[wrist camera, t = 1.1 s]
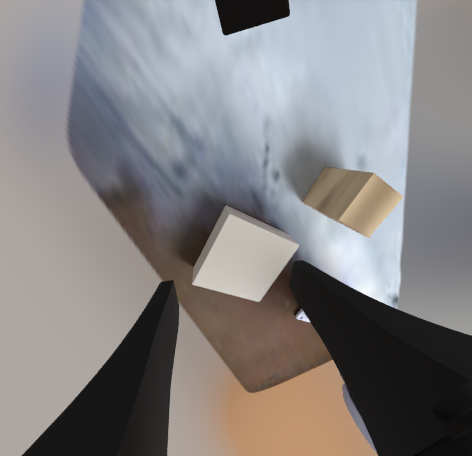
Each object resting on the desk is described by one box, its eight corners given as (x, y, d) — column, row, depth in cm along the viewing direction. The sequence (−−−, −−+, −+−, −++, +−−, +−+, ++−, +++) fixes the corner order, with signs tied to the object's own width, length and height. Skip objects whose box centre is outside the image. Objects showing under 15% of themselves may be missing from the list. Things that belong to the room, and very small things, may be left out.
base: (287, 233, 22) (299, 245, 19) (252, 285, 24) (259, 302, 22) (225, 204, 19) (229, 213, 16) (193, 267, 21) (192, 284, 18)
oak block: (350, 185, 20) (403, 196, 15) (327, 216, 22) (368, 237, 16) (325, 166, 19) (374, 173, 14) (302, 202, 20) (338, 220, 15)
